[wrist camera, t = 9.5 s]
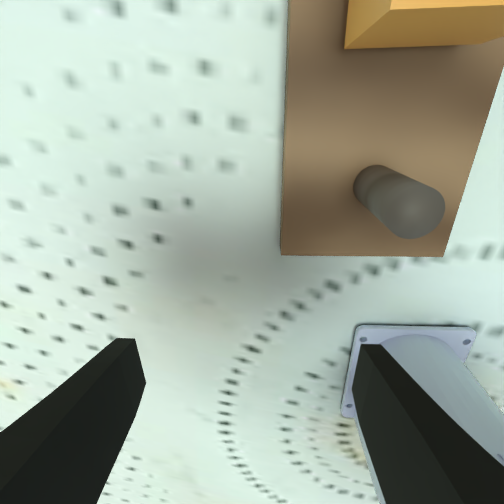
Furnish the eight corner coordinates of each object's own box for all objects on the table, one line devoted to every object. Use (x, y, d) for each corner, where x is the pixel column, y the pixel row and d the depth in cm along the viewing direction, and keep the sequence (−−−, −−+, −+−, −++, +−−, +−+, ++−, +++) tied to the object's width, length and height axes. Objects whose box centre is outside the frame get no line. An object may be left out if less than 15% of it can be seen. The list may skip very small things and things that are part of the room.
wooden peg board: (429, 245, 17) (503, 306, 12) (279, 244, 18) (286, 302, 12) (546, -161, 10) (860, -467, 5) (293, -147, 11) (321, -415, 5)
